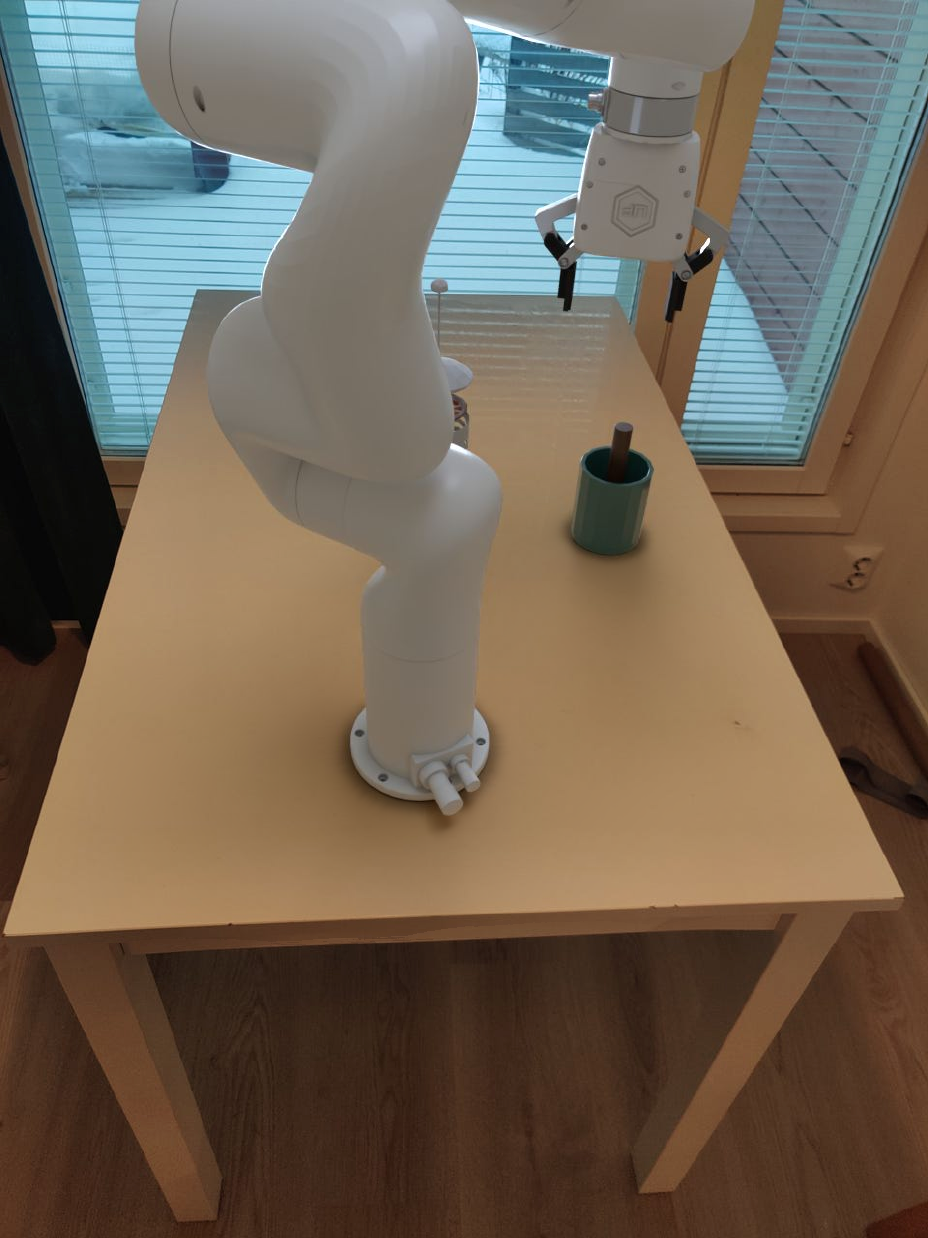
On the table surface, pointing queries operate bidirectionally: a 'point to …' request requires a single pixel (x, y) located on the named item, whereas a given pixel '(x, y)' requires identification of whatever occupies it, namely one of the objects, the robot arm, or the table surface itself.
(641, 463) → the cup
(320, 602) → the table surface
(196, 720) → the table surface
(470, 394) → the table surface
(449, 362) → the french press
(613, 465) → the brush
